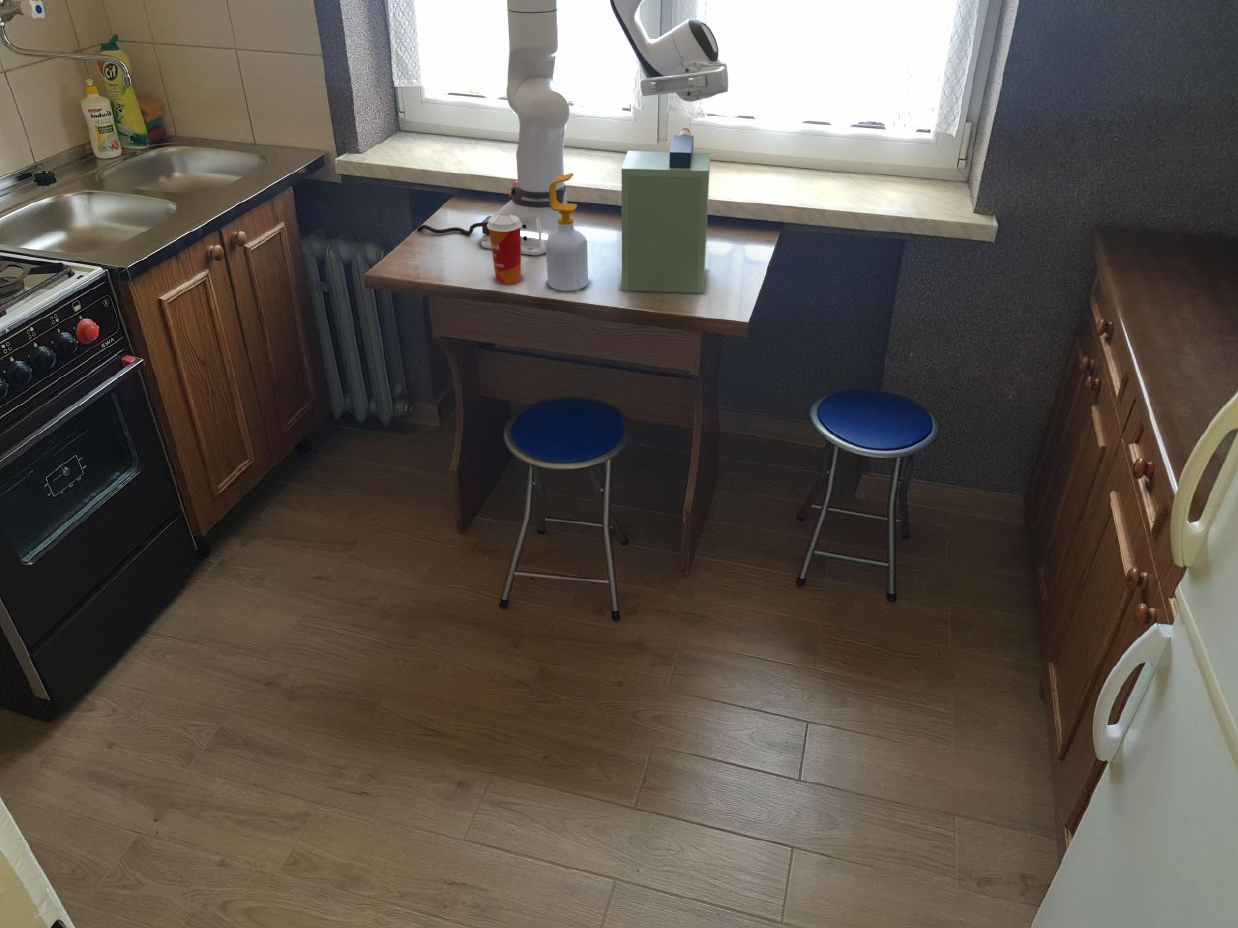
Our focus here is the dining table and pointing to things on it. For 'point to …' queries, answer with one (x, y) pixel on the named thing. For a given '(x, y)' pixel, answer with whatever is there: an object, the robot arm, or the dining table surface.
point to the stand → (664, 222)
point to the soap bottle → (566, 247)
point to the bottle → (681, 150)
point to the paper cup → (506, 247)
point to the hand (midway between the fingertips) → (671, 85)
